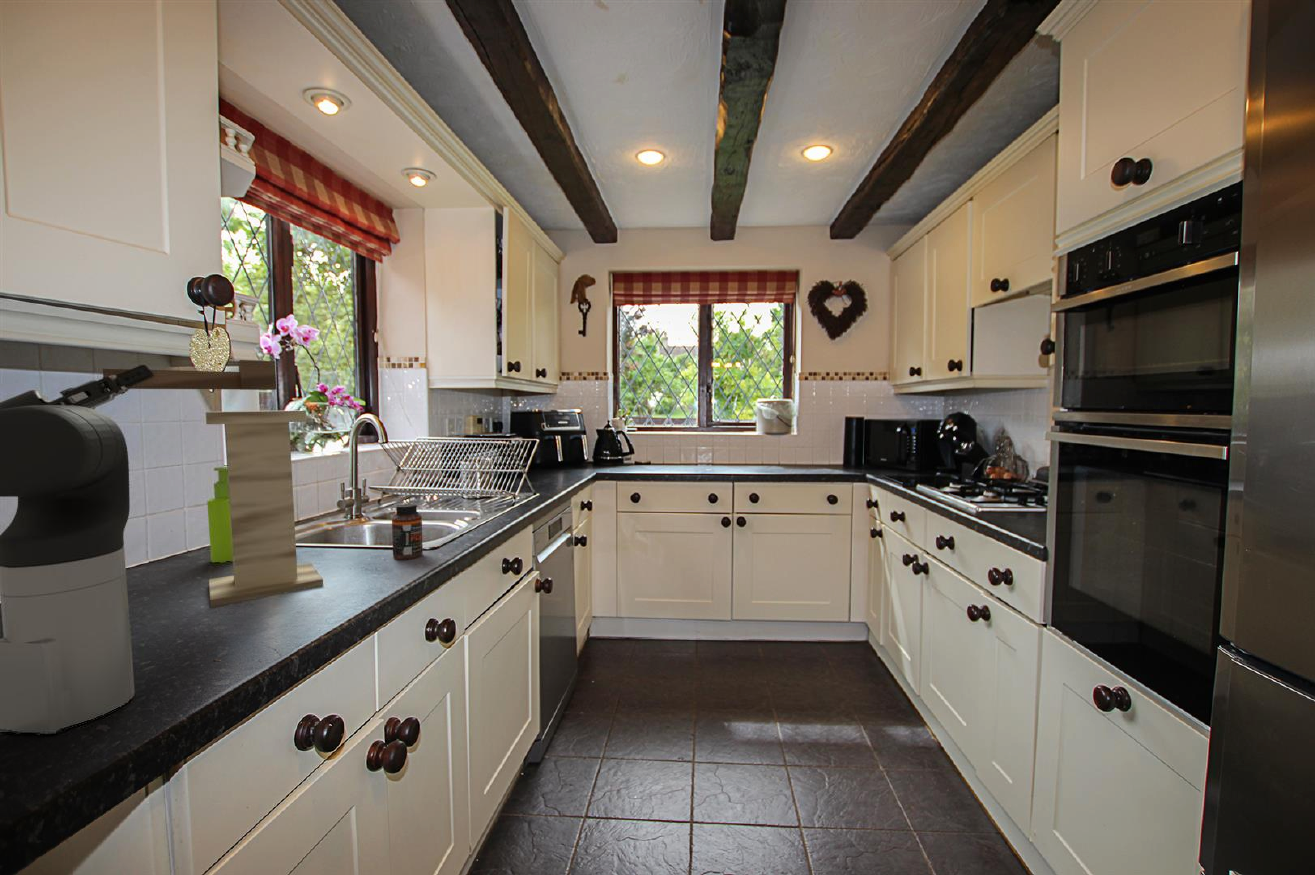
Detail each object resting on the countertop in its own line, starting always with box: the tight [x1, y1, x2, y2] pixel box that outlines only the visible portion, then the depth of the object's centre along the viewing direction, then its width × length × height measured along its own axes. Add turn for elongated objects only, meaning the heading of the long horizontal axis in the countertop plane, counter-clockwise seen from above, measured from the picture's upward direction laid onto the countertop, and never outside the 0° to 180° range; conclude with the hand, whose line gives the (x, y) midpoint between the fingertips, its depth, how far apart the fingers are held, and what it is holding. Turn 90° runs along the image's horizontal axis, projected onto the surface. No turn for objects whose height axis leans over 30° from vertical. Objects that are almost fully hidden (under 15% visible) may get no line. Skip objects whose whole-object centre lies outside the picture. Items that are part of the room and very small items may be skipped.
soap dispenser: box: [207, 466, 233, 563], centre depth 118 cm, size 6×7×20 cm
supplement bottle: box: [391, 503, 424, 560], centre depth 119 cm, size 6×6×11 cm
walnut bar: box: [102, 359, 277, 391], centre depth 93 cm, size 5×22×5 cm, turn 130°
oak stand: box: [205, 409, 324, 608], centre depth 100 cm, size 14×16×32 cm
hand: (149, 370), depth 90 cm, fingers closed on walnut bar, 3 cm apart
